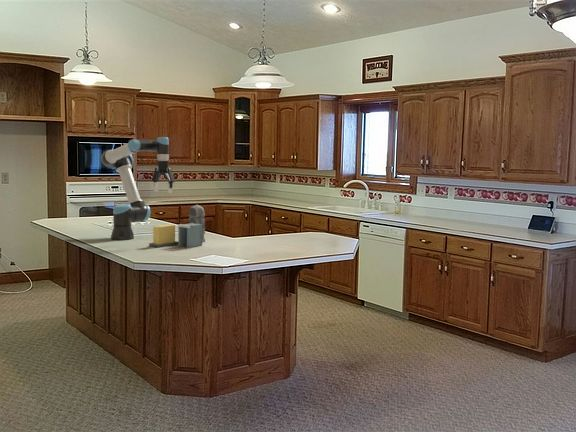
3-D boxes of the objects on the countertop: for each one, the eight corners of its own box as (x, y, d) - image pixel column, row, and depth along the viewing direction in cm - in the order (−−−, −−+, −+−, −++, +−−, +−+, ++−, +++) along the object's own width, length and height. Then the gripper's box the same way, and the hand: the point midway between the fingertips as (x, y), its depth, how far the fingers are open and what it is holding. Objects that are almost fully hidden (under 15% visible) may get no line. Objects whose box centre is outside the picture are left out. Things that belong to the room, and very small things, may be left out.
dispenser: (178, 246, 387) (178, 224, 386) (192, 244, 397) (192, 222, 395) (188, 247, 382) (188, 225, 380) (202, 245, 391) (202, 224, 390)
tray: (149, 246, 385) (149, 243, 385) (170, 243, 399) (170, 240, 399) (158, 247, 380) (158, 244, 380) (179, 244, 394) (179, 241, 394)
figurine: (198, 243, 401) (198, 205, 398) (185, 240, 411) (185, 204, 408) (209, 241, 408) (209, 204, 405) (196, 239, 418) (196, 203, 415)
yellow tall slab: (153, 245, 385) (153, 226, 384) (169, 242, 396) (169, 224, 395) (158, 246, 382) (158, 227, 381) (175, 243, 393) (175, 225, 392)
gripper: (146, 160, 406) (146, 191, 409) (171, 161, 391) (171, 193, 394) (155, 160, 412) (155, 191, 415) (180, 161, 397) (180, 193, 400)
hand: (163, 192), depth 404 cm, fingers open, 13 cm apart
